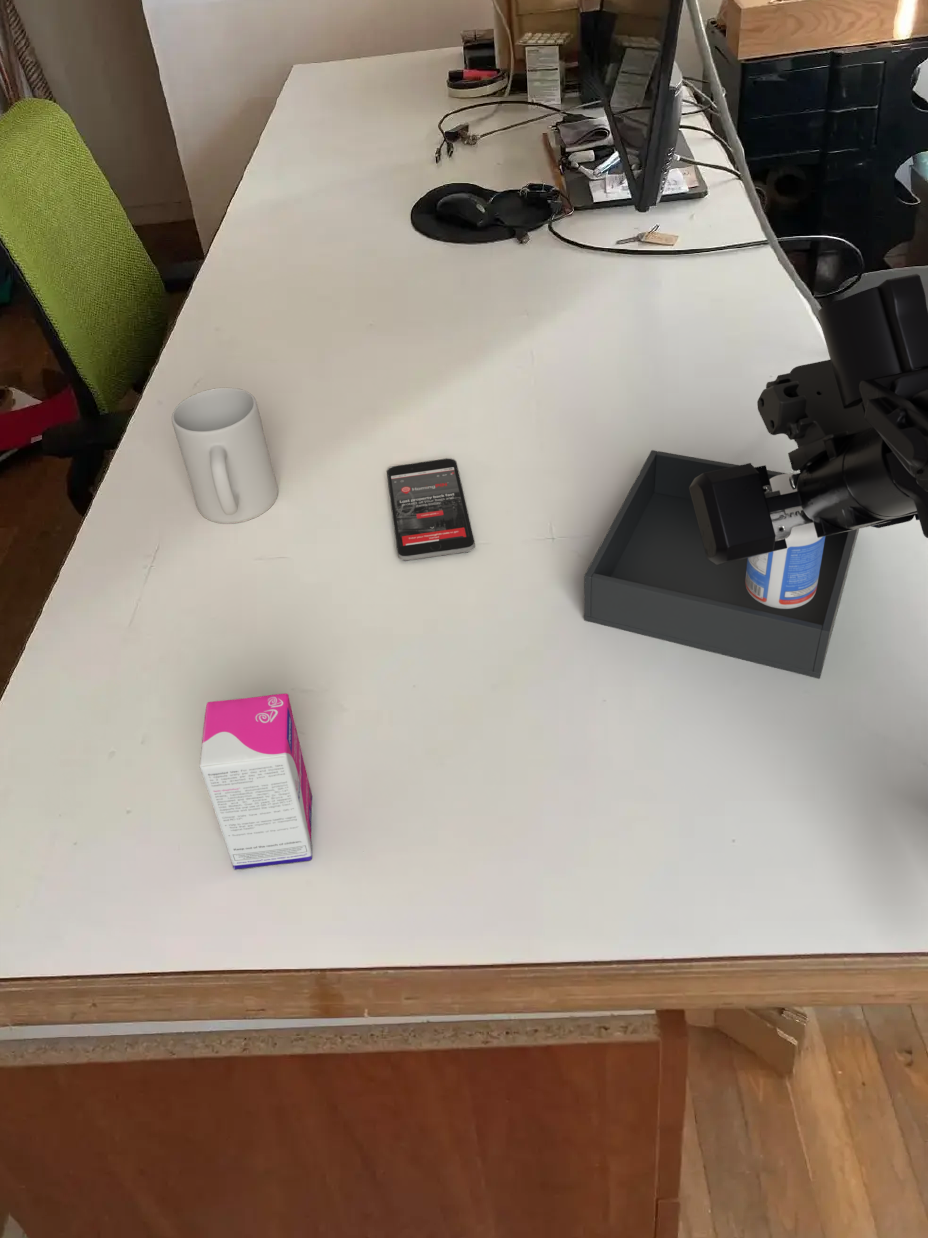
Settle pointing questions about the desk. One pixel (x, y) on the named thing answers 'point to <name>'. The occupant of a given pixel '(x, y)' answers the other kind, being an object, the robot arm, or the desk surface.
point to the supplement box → (257, 780)
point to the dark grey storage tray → (702, 579)
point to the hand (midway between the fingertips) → (780, 512)
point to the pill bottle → (787, 563)
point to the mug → (225, 454)
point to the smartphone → (429, 510)
